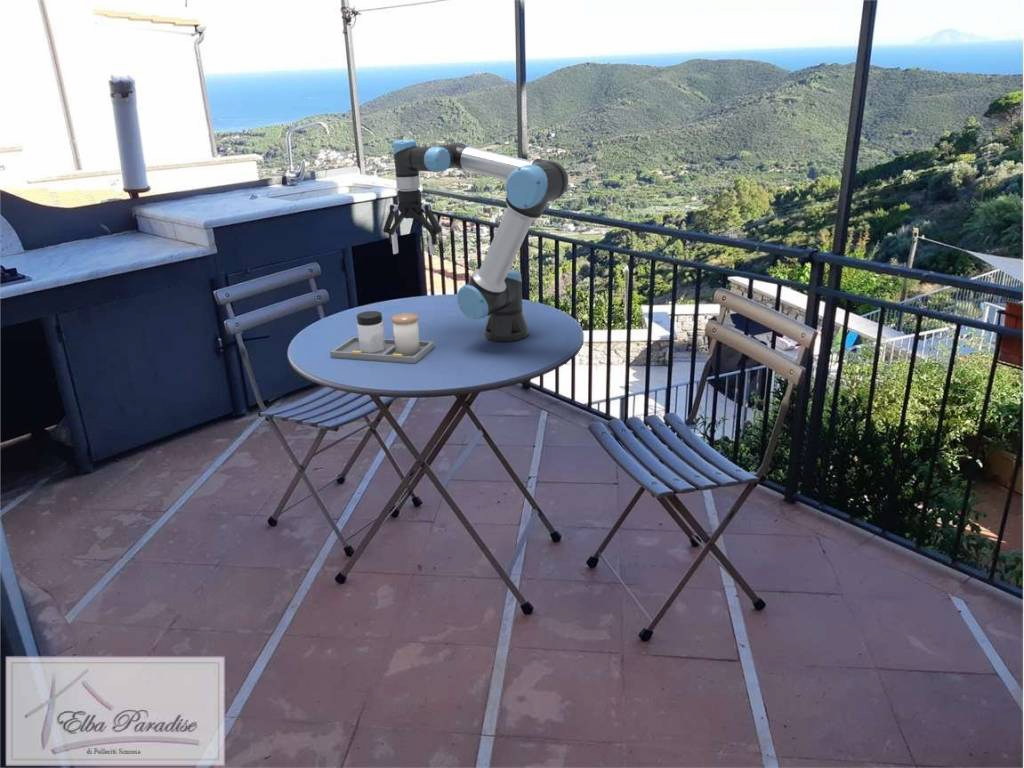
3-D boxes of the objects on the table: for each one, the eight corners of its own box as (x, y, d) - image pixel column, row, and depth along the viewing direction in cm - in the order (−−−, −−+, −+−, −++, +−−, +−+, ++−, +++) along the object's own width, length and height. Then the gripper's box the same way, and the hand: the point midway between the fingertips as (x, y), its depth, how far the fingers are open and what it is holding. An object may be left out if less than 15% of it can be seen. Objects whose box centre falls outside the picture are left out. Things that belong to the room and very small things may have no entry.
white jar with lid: (424, 349, 246) (421, 313, 242) (414, 357, 239) (411, 321, 235) (401, 347, 249) (398, 312, 244) (390, 355, 241) (387, 319, 237)
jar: (364, 355, 243) (360, 319, 239) (355, 348, 250) (351, 314, 245) (390, 349, 247) (386, 314, 243) (380, 343, 254) (377, 309, 249)
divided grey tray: (434, 347, 250) (433, 340, 249) (415, 363, 235) (414, 356, 234) (354, 342, 258) (353, 334, 257) (330, 357, 244) (329, 350, 243)
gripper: (448, 187, 244) (452, 252, 252) (379, 187, 251) (385, 250, 259) (439, 191, 238) (444, 257, 245) (369, 191, 245) (375, 255, 253)
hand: (414, 253), depth 252 cm, fingers open, 13 cm apart
